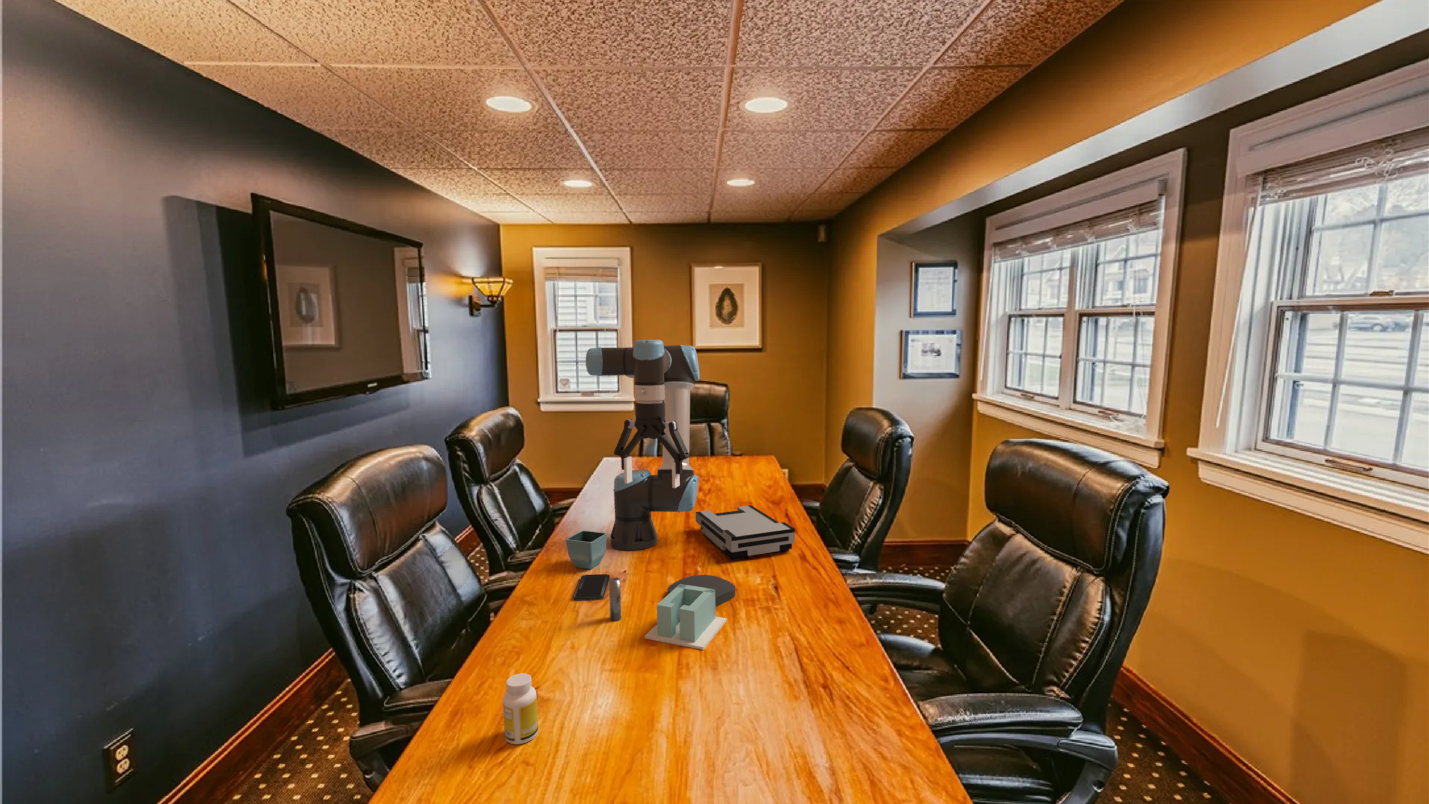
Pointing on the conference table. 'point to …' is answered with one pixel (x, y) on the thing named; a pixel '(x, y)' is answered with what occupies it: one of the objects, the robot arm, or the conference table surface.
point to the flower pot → (586, 548)
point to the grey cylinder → (615, 599)
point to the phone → (591, 587)
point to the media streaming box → (709, 586)
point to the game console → (745, 532)
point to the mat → (699, 643)
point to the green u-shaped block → (686, 612)
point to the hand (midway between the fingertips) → (651, 484)
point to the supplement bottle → (520, 709)
